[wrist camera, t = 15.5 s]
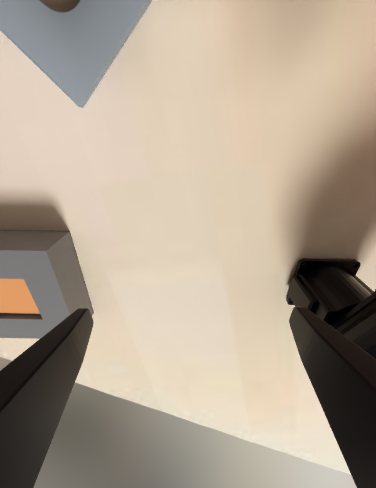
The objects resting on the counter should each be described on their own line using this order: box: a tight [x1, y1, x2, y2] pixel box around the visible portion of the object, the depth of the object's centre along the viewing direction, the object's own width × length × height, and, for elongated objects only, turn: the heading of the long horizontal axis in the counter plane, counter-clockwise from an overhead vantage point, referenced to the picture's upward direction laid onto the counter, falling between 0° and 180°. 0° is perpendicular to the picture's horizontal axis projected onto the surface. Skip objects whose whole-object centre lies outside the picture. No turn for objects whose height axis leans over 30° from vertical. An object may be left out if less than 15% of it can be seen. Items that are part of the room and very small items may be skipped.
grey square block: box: [0, 230, 94, 339], centre depth 23 cm, size 12×12×4 cm
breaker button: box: [0, 279, 40, 314], centre depth 23 cm, size 5×5×3 cm
